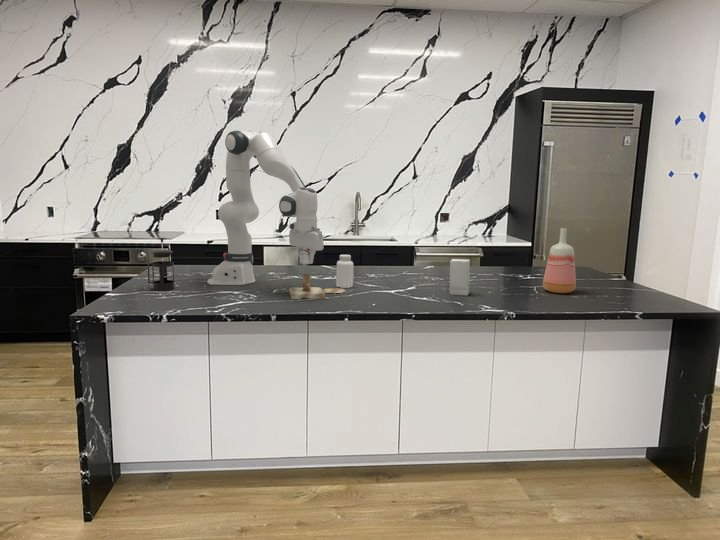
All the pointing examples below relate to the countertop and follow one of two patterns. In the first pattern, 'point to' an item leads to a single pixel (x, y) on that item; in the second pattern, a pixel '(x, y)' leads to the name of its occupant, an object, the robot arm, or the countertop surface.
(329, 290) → the coaster
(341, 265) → the pill bottle
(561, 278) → the vase
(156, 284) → the french press
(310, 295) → the post stand
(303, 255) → the cap
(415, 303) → the countertop surface
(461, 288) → the skincare box
